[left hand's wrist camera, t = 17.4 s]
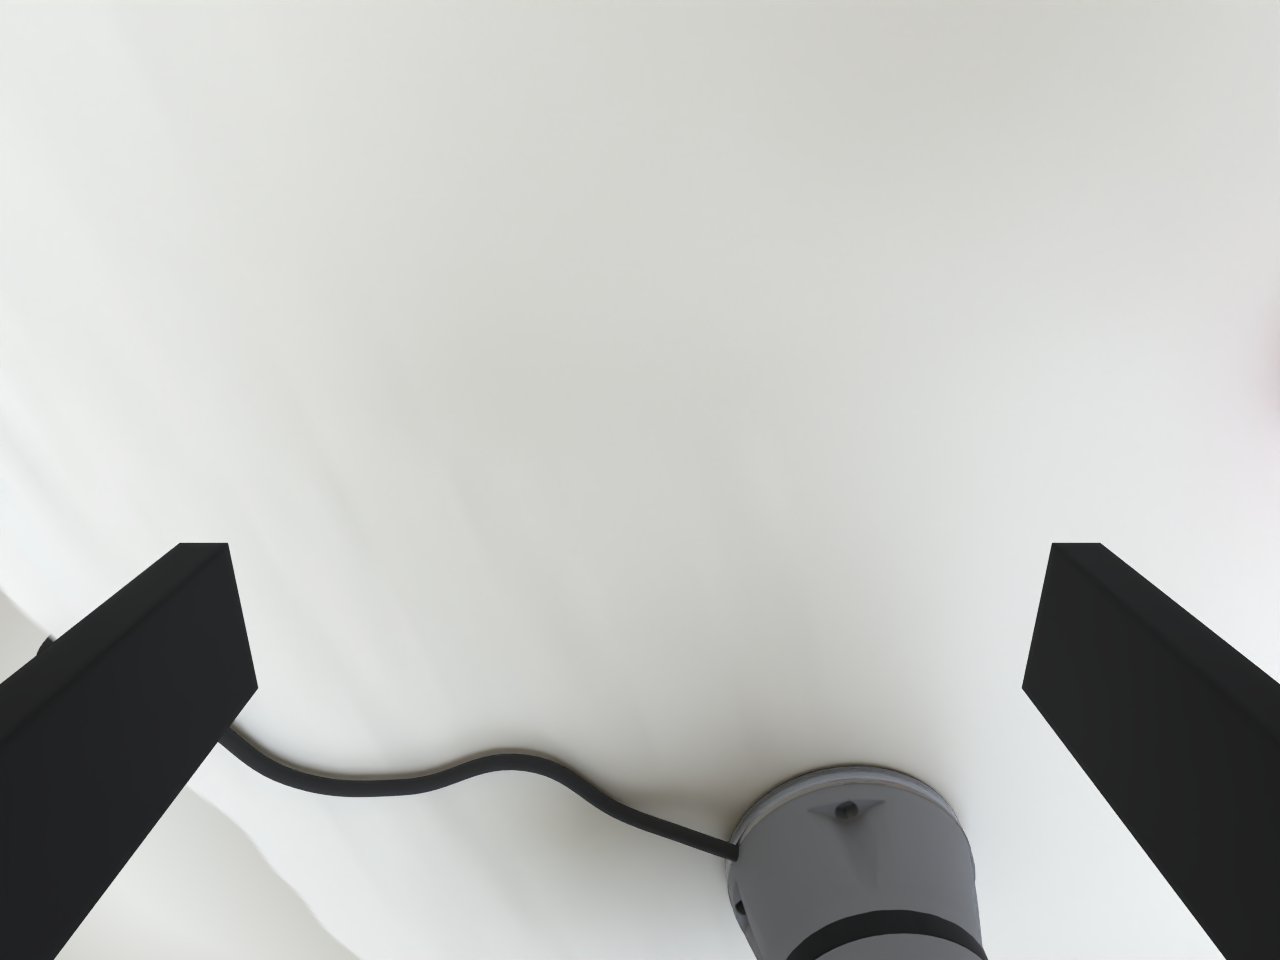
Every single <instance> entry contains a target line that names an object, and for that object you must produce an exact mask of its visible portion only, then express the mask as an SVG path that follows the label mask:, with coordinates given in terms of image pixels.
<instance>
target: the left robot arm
mask: <svg viewBox="0 0 1280 960" xmlns="http://www.w3.org/2000/svg"><path fill="white" fill-rule="evenodd" d="M257 689H258V685H257V680H256V675H255V670H254V665H253V661H252V656H251V651H250V646H249V642H248V637H247V632H246V627H245V622H244V618H243V613H242V608H241V603H240V599H239V594H238V589H237V584H236V579H235V575H234V570H233V565H232V560H231V555H230V551H229V546H228V543H179V544H178V545H177V546H175V547H174V548H173V549H171V550H170V551H169V552H168V553H166V554H165V555H164V556H163V557H161V558H160V559H159V560H157V561H156V562H155V563H154V564H152V565H151V566H150V567H149V568H147V569H146V570H145V571H143V572H142V573H141V574H140V575H138V576H137V577H136V578H135V579H133V580H132V581H131V582H129V583H128V584H127V585H126V586H124V587H123V588H122V589H121V590H119V591H118V592H117V593H115V594H114V595H113V596H112V597H110V598H109V599H108V600H107V601H105V602H104V603H103V604H102V605H100V606H99V607H98V608H96V609H95V610H94V611H93V612H91V613H90V614H89V615H88V616H86V617H85V618H84V619H82V620H81V621H80V622H79V623H77V624H76V625H75V626H74V627H72V628H71V629H70V630H68V631H67V632H66V633H65V634H63V635H62V636H61V637H60V638H58V639H57V640H55V639H54V638H53V637H52V636H51V635H49V636H48V637H47V638H46V640H45V641H44V642H43V643H42V645H41V646H40V648H39V650H38V652H37V654H36V656H35V657H34V658H33V659H32V660H30V661H29V662H28V663H27V664H25V665H24V666H23V667H21V668H20V669H19V670H18V671H16V672H15V673H14V674H13V675H11V676H10V677H9V678H7V679H6V680H5V681H4V682H2V683H1V684H0V960H54V959H55V957H56V956H57V955H58V953H59V952H60V951H61V949H62V948H63V947H64V945H65V944H66V943H67V941H68V940H69V939H70V937H71V936H72V935H73V933H74V932H75V931H76V929H77V928H78V927H79V925H80V924H81V923H82V921H83V920H84V919H85V917H86V916H87V915H88V913H89V912H90V911H91V909H92V908H93V907H94V905H95V904H96V903H97V902H98V900H99V899H100V898H101V896H102V895H103V894H104V892H105V891H106V890H107V888H108V887H109V886H110V884H111V883H112V882H113V880H114V879H115V878H116V876H117V875H118V874H119V872H120V871H121V870H122V868H123V867H124V866H125V864H126V863H127V862H128V860H129V859H130V858H131V856H132V855H133V854H134V852H135V851H136V850H137V848H138V847H139V846H140V844H141V843H142V842H143V840H144V839H145V838H146V836H147V835H148V834H149V832H150V831H151V830H152V828H153V827H154V826H155V824H156V823H157V822H158V820H159V819H160V818H161V817H162V815H163V814H164V813H165V811H166V810H167V809H168V807H169V806H170V805H171V803H172V802H173V801H174V799H175V798H176V797H177V795H178V794H179V793H180V791H181V790H182V789H183V787H184V786H185V785H186V783H187V782H188V781H189V779H190V778H191V777H192V775H193V774H194V773H195V771H196V770H197V769H198V767H199V766H200V765H201V763H202V762H203V761H204V759H205V758H206V757H207V755H208V754H209V753H210V751H211V750H212V749H213V747H214V746H215V745H216V743H217V742H219V743H220V744H221V745H223V746H224V747H225V748H226V749H227V750H229V751H230V752H231V753H232V754H233V755H235V756H236V757H237V758H238V759H240V760H241V761H242V762H244V763H245V764H246V765H248V766H249V767H251V768H252V769H254V770H255V771H257V772H259V773H260V774H262V775H264V776H266V777H268V778H270V779H272V780H274V781H276V782H279V783H282V784H284V785H287V786H290V787H293V788H297V789H300V790H304V791H308V792H313V793H318V794H324V795H331V796H342V797H380V796H401V795H412V794H419V793H424V792H429V791H433V790H436V789H440V788H443V787H446V786H449V785H451V784H454V783H457V782H460V781H462V780H465V779H468V778H471V777H474V776H477V775H480V774H484V773H488V772H493V771H501V770H519V771H528V772H533V773H537V774H541V775H544V776H547V777H549V778H552V779H554V780H556V781H558V782H560V783H561V784H563V785H565V786H566V787H568V788H569V789H571V790H572V791H574V792H575V793H577V794H578V795H579V796H581V797H582V798H584V799H585V800H586V801H588V802H589V803H591V804H592V805H594V806H595V807H597V808H598V809H600V810H601V811H603V812H605V813H606V814H608V815H610V816H612V817H614V818H616V819H618V820H620V821H622V822H625V823H627V824H629V825H632V826H634V827H637V828H640V829H642V830H645V831H648V832H651V833H654V834H656V835H659V836H662V837H665V838H668V839H671V840H674V841H677V842H680V843H683V844H685V845H688V846H691V847H694V848H697V849H699V850H702V851H705V852H708V853H711V854H714V855H717V856H720V857H722V858H725V859H726V866H725V867H726V877H727V885H728V893H729V898H730V902H731V905H732V908H733V911H734V914H735V917H736V919H737V921H738V923H739V925H740V927H741V929H742V931H743V933H744V934H745V936H746V939H747V941H748V943H749V945H750V947H751V949H752V951H753V952H754V954H755V956H756V958H757V960H988V958H987V956H986V954H985V951H984V949H983V947H982V939H981V930H980V920H979V911H978V903H977V895H976V888H975V865H974V860H973V856H972V853H971V848H970V845H969V842H968V839H967V837H966V835H965V833H964V831H963V829H962V827H961V825H960V823H959V821H958V819H957V817H956V815H955V813H954V812H953V810H952V809H951V807H950V806H949V805H948V803H947V802H946V801H945V800H944V799H943V798H942V797H941V796H940V795H939V794H938V793H936V792H935V791H934V790H933V789H931V788H930V787H928V786H927V785H925V784H924V783H922V782H920V781H918V780H917V779H914V778H912V777H910V776H907V775H905V774H902V773H899V772H896V771H891V770H887V769H882V768H876V767H865V766H846V767H835V768H829V769H823V770H819V771H815V772H811V773H808V774H805V775H802V776H799V777H797V778H795V779H792V780H790V781H788V782H786V783H784V784H782V785H780V786H778V787H777V788H775V789H774V790H772V791H770V792H769V793H767V794H766V795H765V796H764V797H762V798H761V799H760V800H758V801H757V802H756V803H755V804H754V805H753V806H752V807H751V808H750V809H749V810H748V811H747V813H746V814H745V815H744V816H743V818H742V819H741V820H740V822H739V823H738V825H737V827H736V828H735V830H734V832H733V834H732V837H731V839H730V841H729V843H728V842H726V841H723V840H720V839H717V838H714V837H711V836H708V835H705V834H703V833H700V832H697V831H694V830H691V829H688V828H686V827H683V826H680V825H677V824H674V823H671V822H668V821H665V820H662V819H659V818H656V817H654V816H651V815H648V814H645V813H642V812H640V811H637V810H635V809H632V808H630V807H628V806H626V805H623V804H621V803H619V802H617V801H616V800H614V799H612V798H610V797H609V796H607V795H605V794H604V793H602V792H601V791H599V790H598V789H597V788H595V787H594V786H592V785H591V784H590V783H588V782H587V781H586V780H584V779H583V778H581V777H580V776H578V775H577V774H576V773H574V772H572V771H571V770H569V769H568V768H566V767H564V766H562V765H560V764H558V763H555V762H553V761H550V760H548V759H544V758H541V757H537V756H531V755H524V754H499V755H492V756H487V757H483V758H479V759H476V760H472V761H470V762H467V763H464V764H461V765H458V766H456V767H453V768H450V769H448V770H445V771H442V772H439V773H436V774H432V775H428V776H424V777H418V778H410V779H397V780H375V781H351V780H337V779H329V778H323V777H319V776H314V775H310V774H306V773H303V772H300V771H296V770H293V769H291V768H288V767H286V766H283V765H281V764H279V763H277V762H275V761H273V760H271V759H270V758H268V757H266V756H265V755H263V754H262V753H260V752H259V751H258V750H256V749H255V748H254V747H252V746H251V745H250V744H249V743H247V742H246V741H245V740H244V739H243V738H241V737H240V736H239V735H238V734H237V733H235V732H234V731H233V730H232V729H231V728H229V726H230V725H231V724H232V722H233V721H234V720H235V718H236V717H237V716H238V714H239V713H240V712H241V710H242V709H243V708H244V706H245V705H246V704H247V702H248V701H249V700H250V698H251V697H252V696H253V694H254V693H255V692H256V690H257ZM1022 689H1023V690H1024V692H1025V693H1026V694H1027V696H1028V697H1029V698H1030V700H1031V701H1032V702H1033V704H1034V705H1035V706H1036V708H1037V709H1038V710H1039V712H1040V713H1041V714H1042V716H1043V717H1044V718H1045V720H1046V721H1047V722H1048V724H1049V725H1050V726H1051V728H1052V729H1053V730H1054V732H1055V733H1056V734H1057V736H1058V737H1059V738H1060V739H1061V741H1062V742H1063V743H1064V745H1065V746H1066V747H1067V749H1068V750H1069V751H1070V753H1071V754H1072V755H1073V757H1074V758H1075V759H1076V761H1077V762H1078V763H1079V765H1080V766H1081V767H1082V769H1083V770H1084V771H1085V773H1086V774H1087V775H1088V777H1089V778H1090V779H1091V781H1092V782H1093V783H1094V785H1095V786H1096V787H1097V789H1098V790H1099V791H1100V793H1101V794H1102V795H1103V797H1104V798H1105V799H1106V801H1107V802H1108V803H1109V805H1110V806H1111V807H1112V809H1113V810H1114V811H1115V813H1116V814H1117V815H1118V817H1119V818H1120V819H1121V821H1122V822H1123V823H1124V824H1125V826H1126V827H1127V828H1128V830H1129V831H1130V832H1131V834H1132V835H1133V836H1134V838H1135V839H1136V840H1137V842H1138V843H1139V844H1140V846H1141V847H1142V848H1143V850H1144V851H1145V852H1146V854H1147V855H1148V856H1149V858H1150V859H1151V860H1152V862H1153V863H1154V864H1155V866H1156V867H1157V868H1158V870H1159V871H1160V872H1161V874H1162V875H1163V876H1164V878H1165V879H1166V880H1167V882H1168V883H1169V884H1170V886H1171V887H1172V888H1173V890H1174V891H1175V892H1176V894H1177V895H1178V896H1179V898H1180V899H1181V900H1182V902H1183V903H1184V904H1185V906H1186V907H1187V908H1188V909H1189V911H1190V912H1191V913H1192V915H1193V916H1194V917H1195V919H1196V920H1197V921H1198V923H1199V924H1200V925H1201V927H1202V928H1203V929H1204V931H1205V932H1206V933H1207V935H1208V936H1209V937H1210V939H1211V940H1212V941H1213V943H1214V944H1215V945H1216V947H1217V948H1218V949H1219V951H1220V952H1221V953H1222V955H1223V956H1224V957H1225V959H1226V960H1280V684H1279V683H1278V682H1276V681H1275V680H1274V679H1273V678H1271V677H1270V676H1269V675H1268V674H1266V673H1265V672H1264V671H1262V670H1261V669H1260V668H1259V667H1257V666H1256V665H1255V664H1254V663H1252V662H1251V661H1250V660H1248V659H1247V658H1246V657H1245V656H1243V655H1242V654H1241V653H1240V652H1238V651H1237V650H1236V649H1234V648H1233V647H1232V646H1231V645H1229V644H1228V643H1227V642H1226V641H1224V640H1223V639H1222V638H1220V637H1219V636H1218V635H1217V634H1215V633H1214V632H1213V631H1212V630H1210V629H1209V628H1208V627H1206V626H1205V625H1204V624H1203V623H1201V622H1200V621H1199V620H1198V619H1196V618H1195V617H1194V616H1192V615H1191V614H1190V613H1189V612H1187V611H1186V610H1185V609H1184V608H1182V607H1181V606H1180V605H1178V604H1177V603H1176V602H1175V601H1173V600H1172V599H1171V598H1170V597H1168V596H1167V595H1166V594H1165V593H1163V592H1162V591H1161V590H1159V589H1158V588H1157V587H1156V586H1154V585H1153V584H1152V583H1151V582H1149V581H1148V580H1147V579H1145V578H1144V577H1143V576H1142V575H1140V574H1139V573H1138V572H1137V571H1135V570H1134V569H1133V568H1131V567H1130V566H1129V565H1128V564H1126V563H1125V562H1124V561H1123V560H1121V559H1120V558H1119V557H1117V556H1116V555H1115V554H1114V553H1112V552H1111V551H1110V550H1109V549H1107V548H1106V547H1105V546H1103V545H1102V544H1101V543H1052V546H1051V551H1050V555H1049V560H1048V565H1047V570H1046V575H1045V579H1044V584H1043V589H1042V594H1041V599H1040V603H1039V608H1038V613H1037V618H1036V622H1035V627H1034V632H1033V637H1032V642H1031V646H1030V651H1029V656H1028V661H1027V665H1026V670H1025V675H1024V680H1023V685H1022Z"/></svg>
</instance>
